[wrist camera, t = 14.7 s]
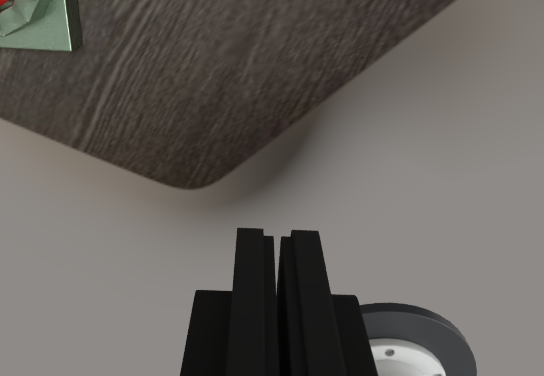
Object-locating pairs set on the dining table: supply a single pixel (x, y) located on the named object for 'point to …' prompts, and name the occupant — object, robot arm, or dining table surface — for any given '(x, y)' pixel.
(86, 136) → the dining table surface
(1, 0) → the button
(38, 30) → the switch block
